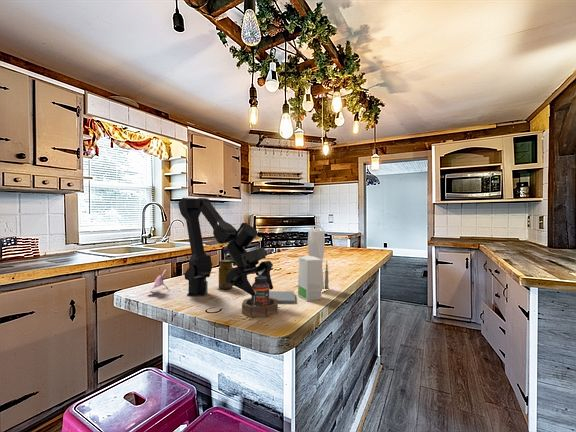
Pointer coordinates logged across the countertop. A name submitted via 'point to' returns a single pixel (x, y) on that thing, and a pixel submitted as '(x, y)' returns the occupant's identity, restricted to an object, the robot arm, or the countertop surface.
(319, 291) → the skincare box
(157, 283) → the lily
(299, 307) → the countertop surface
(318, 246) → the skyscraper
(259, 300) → the supplement bottle
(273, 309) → the collar ring
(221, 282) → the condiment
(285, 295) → the pad
